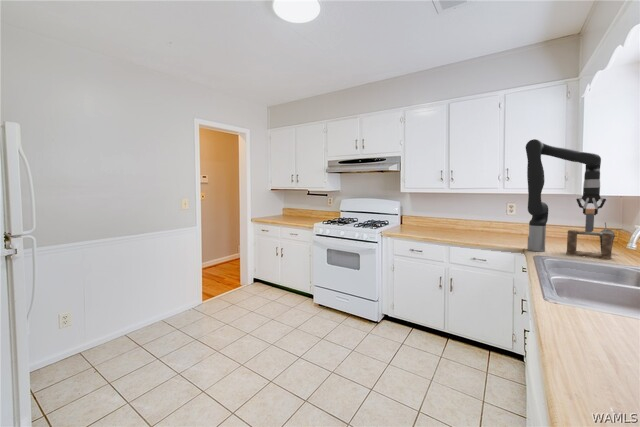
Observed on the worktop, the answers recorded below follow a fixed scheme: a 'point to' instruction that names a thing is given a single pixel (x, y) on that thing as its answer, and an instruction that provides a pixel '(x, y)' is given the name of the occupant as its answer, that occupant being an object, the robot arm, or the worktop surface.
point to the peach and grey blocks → (589, 220)
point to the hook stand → (604, 255)
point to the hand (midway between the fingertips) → (590, 214)
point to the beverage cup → (607, 232)
